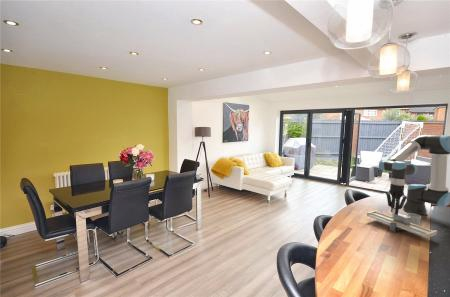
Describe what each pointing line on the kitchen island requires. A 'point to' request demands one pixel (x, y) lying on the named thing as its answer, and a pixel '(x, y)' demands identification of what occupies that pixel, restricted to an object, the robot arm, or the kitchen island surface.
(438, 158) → the robot arm
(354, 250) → the kitchen island surface
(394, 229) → the fulcrum
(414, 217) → the cup
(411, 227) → the beam
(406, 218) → the block
